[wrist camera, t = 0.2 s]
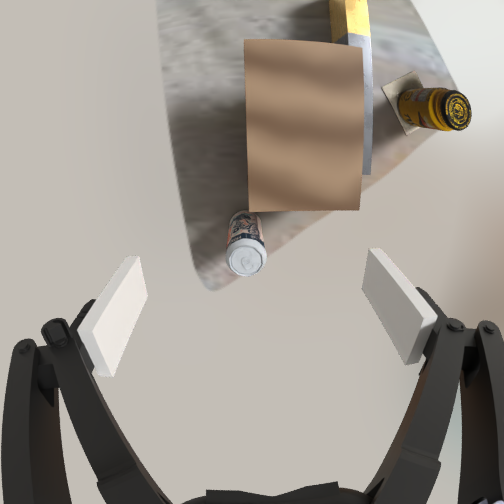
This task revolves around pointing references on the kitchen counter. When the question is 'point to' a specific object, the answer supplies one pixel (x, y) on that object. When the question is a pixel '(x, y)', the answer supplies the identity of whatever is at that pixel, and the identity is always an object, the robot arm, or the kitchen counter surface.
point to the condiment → (427, 105)
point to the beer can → (245, 244)
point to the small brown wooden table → (303, 125)
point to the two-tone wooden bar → (358, 34)
